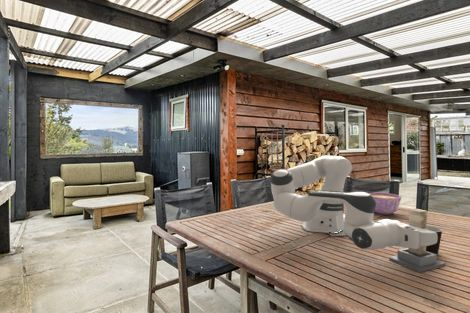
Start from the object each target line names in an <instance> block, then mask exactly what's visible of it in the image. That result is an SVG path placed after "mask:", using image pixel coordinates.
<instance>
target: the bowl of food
mask: <svg viewBox="0 0 470 313" xmlns="http://www.w3.org/2000/svg"><path fill="white" fill-rule="evenodd" d="M367 193H368V192H367ZM368 194H370V195H371V196H372V197H373V198H374V200H375V201H376V208H375V212H374V213H377V214H378V215H387V216H388V215H390V214H394V213H395V212H396V211H397V210H398V209H399V206H400V204H401V203H400V202H401V199H402V196H401V195H398V194H394V193H390V192H389V193H387V192H369V193H368Z"/></svg>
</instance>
